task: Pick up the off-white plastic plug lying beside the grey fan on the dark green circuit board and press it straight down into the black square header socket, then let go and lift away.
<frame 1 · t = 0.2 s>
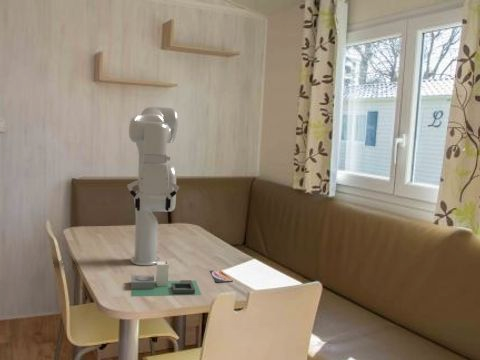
hand: (152, 210, 169), 31 cm above the table, tool pointing down, fingers open, 9 cm apart
smartphone: (218, 278, 200), on the table
board: (165, 291, 180), on the table
plug: (161, 284, 184), point 1 cm above the table, touching board
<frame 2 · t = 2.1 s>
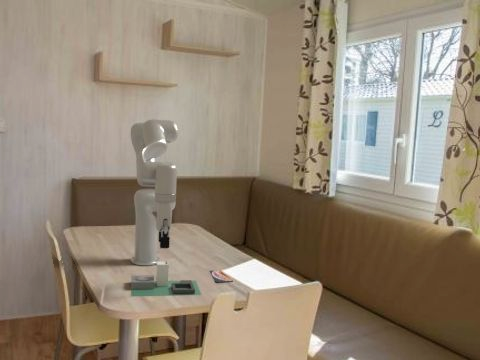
hand: (163, 244, 181), 16 cm above the table, tool pointing down, fingers open, 9 cm apart
nothing on the table moved.
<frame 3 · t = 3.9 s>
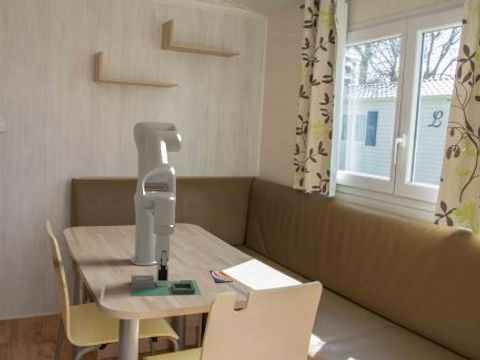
hand: (162, 277, 183), 4 cm above the table, tool pointing down, fingers closed on plug, 4 cm apart
plug: (161, 284, 184), point 1 cm above the table, touching board, gripper
everything else where it was.
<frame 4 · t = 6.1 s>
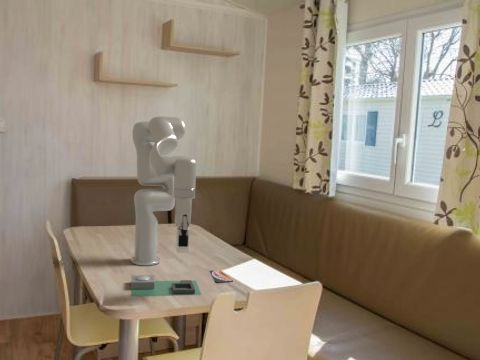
hand: (182, 244, 177), 18 cm above the table, tool pointing down, fingers closed on plug, 4 cm apart
plug: (182, 251, 177), point 15 cm above the table, touching gripper
everything else where it was.
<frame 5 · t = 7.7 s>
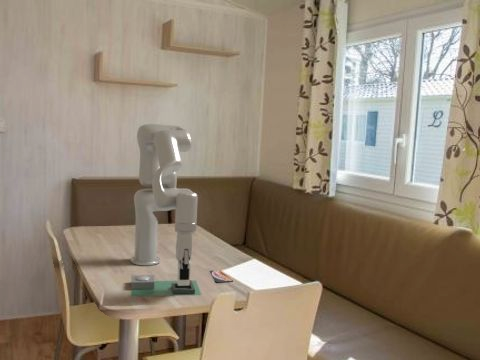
hand: (183, 277, 178), 6 cm above the table, tool pointing down, fingers closed on plug, 4 cm apart
plug: (183, 283, 178), point 4 cm above the table, touching gripper
everything else where it was.
when the fingers open (4 cm above the table, at t = 8.5 s): plug stays where it is, resting on board.
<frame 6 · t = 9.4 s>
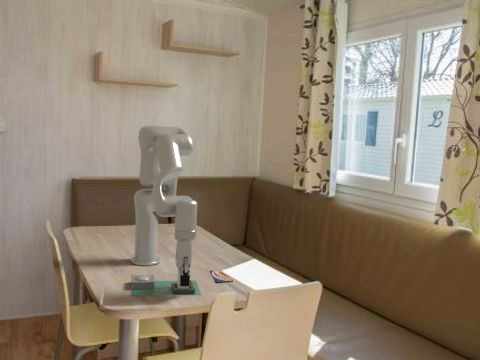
hand: (183, 281, 178), 4 cm above the table, tool pointing down, fingers open, 9 cm apart
plug: (183, 290, 178), point 1 cm above the table, touching board
everything else where it was.
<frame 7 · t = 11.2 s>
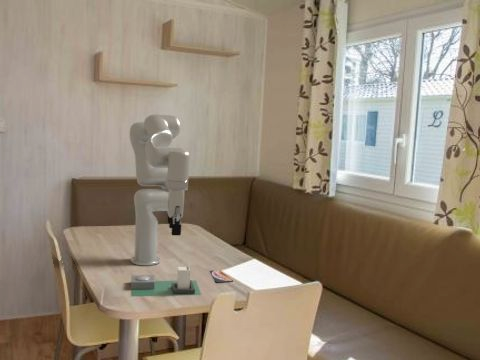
hand: (174, 231, 181), 21 cm above the table, tool pointing down, fingers open, 9 cm apart
nothing on the table moved.
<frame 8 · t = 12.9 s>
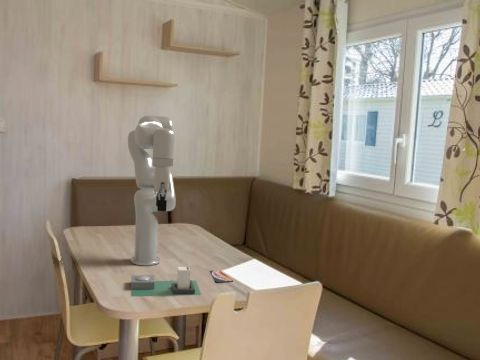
hand: (161, 208, 186), 28 cm above the table, tool pointing down, fingers open, 9 cm apart
nothing on the table moved.
at the end: plug 0.1 cm from the target spot on the board, point 1.2 cm above the board's base; plug tilted 0°; the gripper is holding nothing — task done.
